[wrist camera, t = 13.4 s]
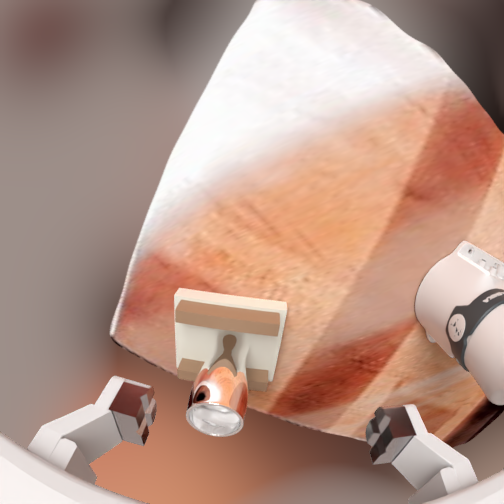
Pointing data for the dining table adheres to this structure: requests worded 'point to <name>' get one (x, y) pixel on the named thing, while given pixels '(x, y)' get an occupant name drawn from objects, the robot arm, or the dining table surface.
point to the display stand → (231, 319)
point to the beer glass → (221, 387)
